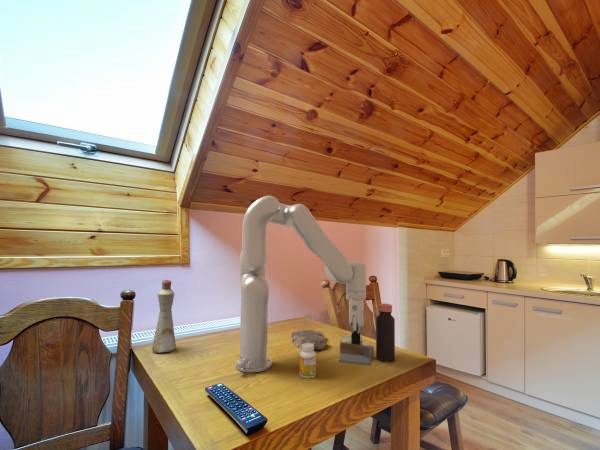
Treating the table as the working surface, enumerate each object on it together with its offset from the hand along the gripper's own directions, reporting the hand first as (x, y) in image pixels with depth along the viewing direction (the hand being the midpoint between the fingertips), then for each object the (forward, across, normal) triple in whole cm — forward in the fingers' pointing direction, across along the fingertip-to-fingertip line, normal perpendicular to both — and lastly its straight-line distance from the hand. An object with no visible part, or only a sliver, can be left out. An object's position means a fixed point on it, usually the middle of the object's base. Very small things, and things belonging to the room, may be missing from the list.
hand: (355, 343), depth 118 cm
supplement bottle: (+6, -20, +14) cm, 25 cm away
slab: (+3, +1, +2) cm, 4 cm away
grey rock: (+6, +10, +20) cm, 23 cm away
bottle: (+6, -14, +74) cm, 75 cm away
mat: (+5, +4, 0) cm, 7 cm away
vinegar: (+5, +2, -11) cm, 12 cm away
